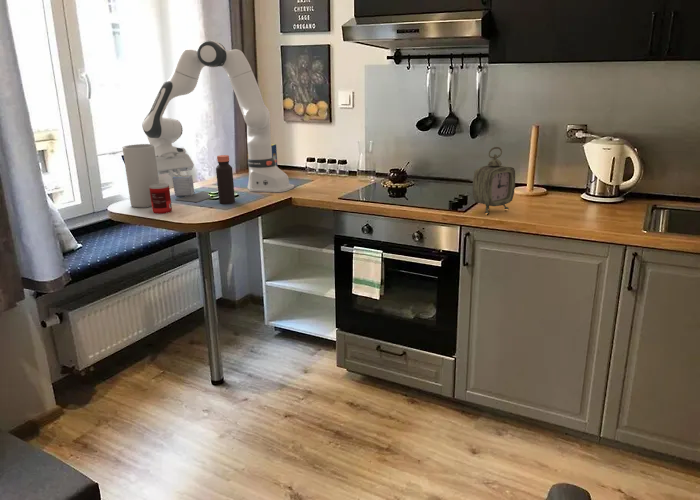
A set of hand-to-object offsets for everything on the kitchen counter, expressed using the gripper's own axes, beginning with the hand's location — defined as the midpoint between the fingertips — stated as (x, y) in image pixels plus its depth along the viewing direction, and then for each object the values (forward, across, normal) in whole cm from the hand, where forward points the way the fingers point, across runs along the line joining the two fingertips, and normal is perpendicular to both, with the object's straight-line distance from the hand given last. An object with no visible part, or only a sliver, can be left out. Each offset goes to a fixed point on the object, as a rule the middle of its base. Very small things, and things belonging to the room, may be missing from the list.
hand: (177, 178), depth 261 cm
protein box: (-3, +55, +13) cm, 56 cm away
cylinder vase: (+11, -19, -1) cm, 22 cm away
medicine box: (+8, +1, +2) cm, 8 cm away
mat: (+14, +4, -4) cm, 15 cm away
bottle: (+26, +7, -18) cm, 32 cm away
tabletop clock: (+89, +68, -85) cm, 141 cm away
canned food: (+23, -20, -13) cm, 33 cm away
